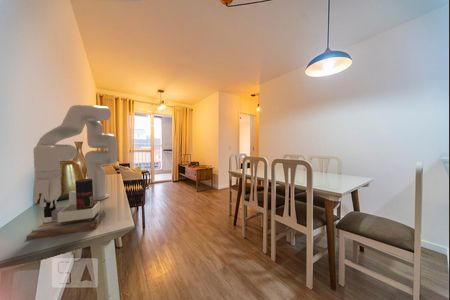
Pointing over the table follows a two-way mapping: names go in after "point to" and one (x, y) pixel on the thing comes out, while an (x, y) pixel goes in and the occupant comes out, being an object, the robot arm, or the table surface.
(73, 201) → the small box
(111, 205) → the table surface
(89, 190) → the deodorant
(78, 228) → the rail board
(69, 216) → the white open tray
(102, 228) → the table surface
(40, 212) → the table surface
